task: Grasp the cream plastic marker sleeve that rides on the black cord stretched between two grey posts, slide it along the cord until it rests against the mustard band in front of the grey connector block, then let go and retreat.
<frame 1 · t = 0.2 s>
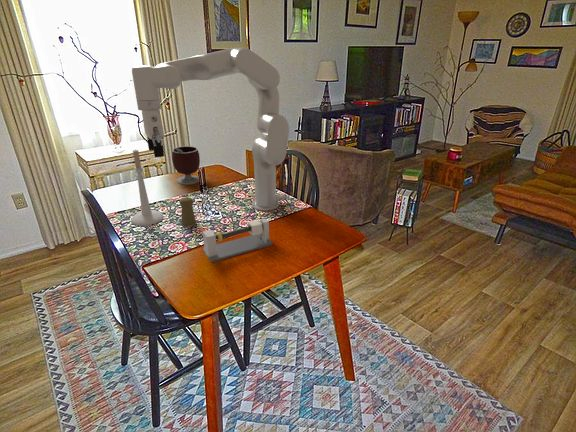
hand: (156, 153, 128), 31 cm above the table, fingers open, 9 cm apart
candlestick: (147, 219, 149), on the table
comb rail: (238, 247, 130), on the table
mate gourd: (187, 181, 190), on the table
sleeve: (255, 227, 130), point 7 cm above the table, slide at -7.0 cm
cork: (188, 223, 147), on the table
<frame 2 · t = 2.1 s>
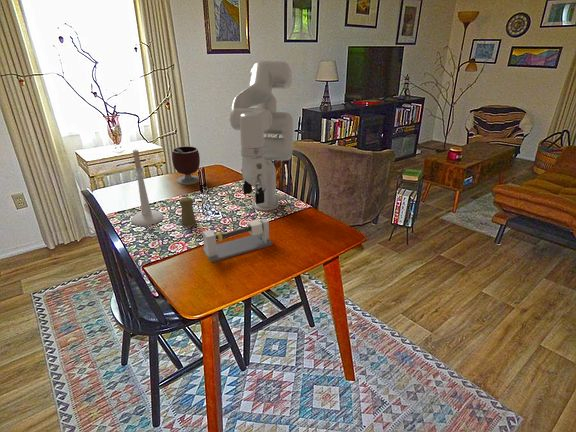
hand: (253, 198, 125), 18 cm above the table, fingers open, 9 cm apart
nothing on the table moved.
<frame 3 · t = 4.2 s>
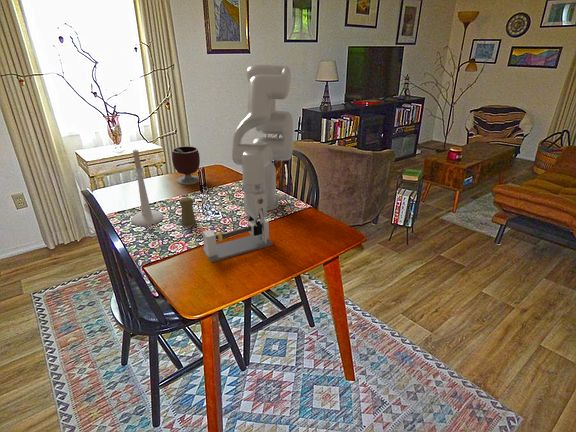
hand: (255, 231, 131), 5 cm above the table, fingers closed on sleeve, 4 cm apart
sleeve: (255, 227, 130), point 6 cm above the table, slide at -7.0 cm, touching gripper
everything else where it was.
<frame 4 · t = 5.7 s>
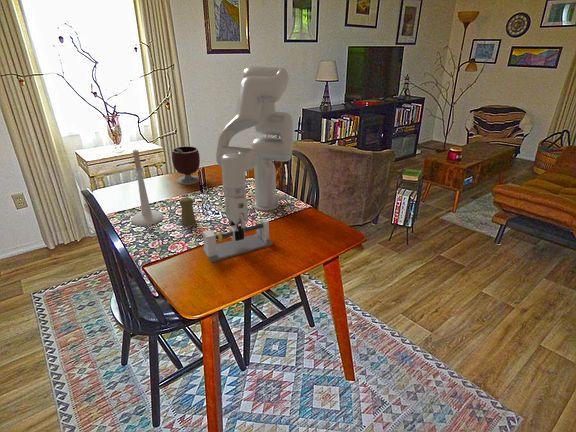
hand: (236, 236, 128), 5 cm above the table, fingers closed on sleeve, 4 cm apart
sleeve: (236, 232, 127), point 7 cm above the table, slide at 0.3 cm, touching gripper
everything else where it was.
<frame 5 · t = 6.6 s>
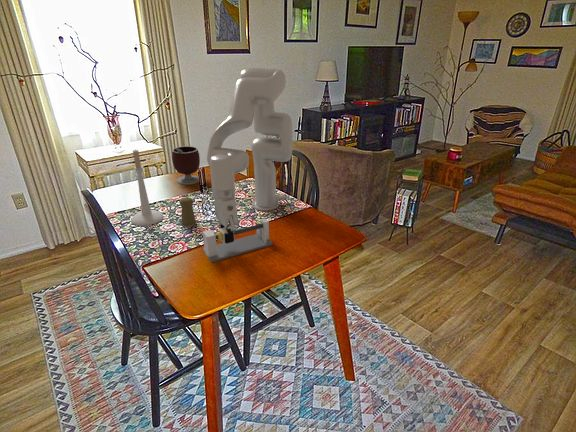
hand: (227, 238, 126), 5 cm above the table, fingers closed on sleeve, 4 cm apart
sleeve: (226, 234, 125), point 7 cm above the table, slide at 4.1 cm, touching gripper
everything else where it was.
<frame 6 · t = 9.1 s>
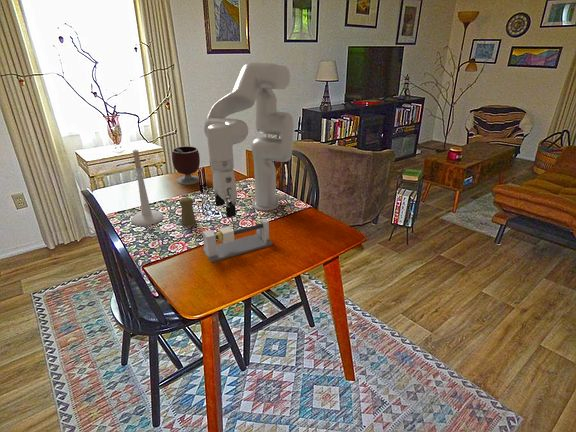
hand: (225, 210, 121), 16 cm above the table, fingers open, 9 cm apart
sleeve: (226, 234, 125), point 6 cm above the table, slide at 4.2 cm
everything else where it was.
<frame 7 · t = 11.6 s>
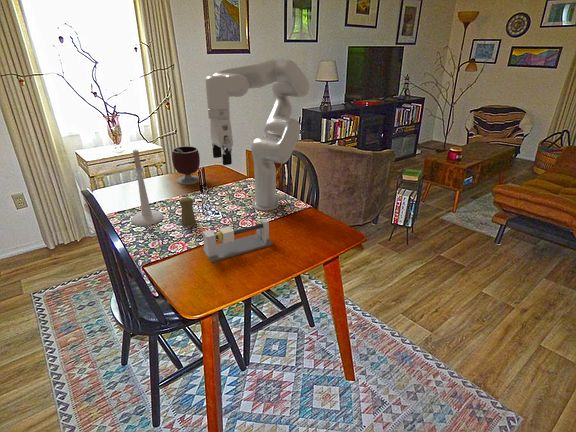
hand: (222, 160, 130), 28 cm above the table, fingers open, 9 cm apart
nothing on the table moved.
at the end: sleeve slide at 4.2 cm; the gripper is holding nothing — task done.
